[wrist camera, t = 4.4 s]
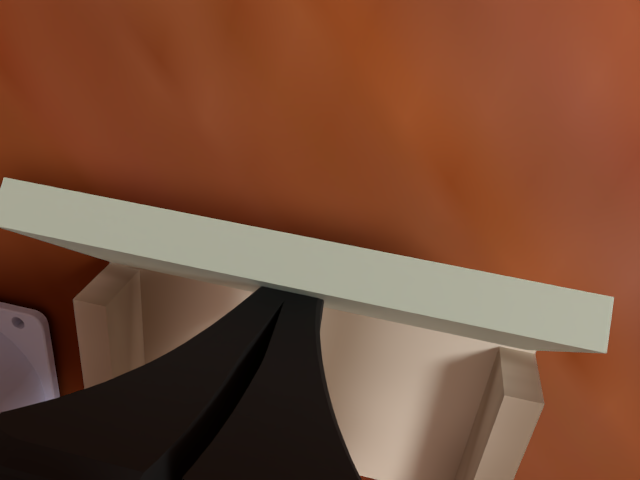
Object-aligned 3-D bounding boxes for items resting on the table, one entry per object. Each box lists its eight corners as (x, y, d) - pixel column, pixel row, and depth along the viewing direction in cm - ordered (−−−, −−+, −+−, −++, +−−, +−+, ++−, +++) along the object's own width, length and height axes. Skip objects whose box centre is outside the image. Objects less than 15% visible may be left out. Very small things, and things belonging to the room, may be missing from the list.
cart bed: (141, 388, 23) (93, 459, 20) (130, 206, 19) (67, 259, 16) (476, 469, 21) (480, 560, 18) (542, 287, 17) (560, 365, 14)
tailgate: (103, 260, 17) (-20, 222, 12) (112, 227, 17) (-6, 175, 12) (534, 351, 15) (618, 355, 10) (539, 315, 15) (626, 299, 10)
